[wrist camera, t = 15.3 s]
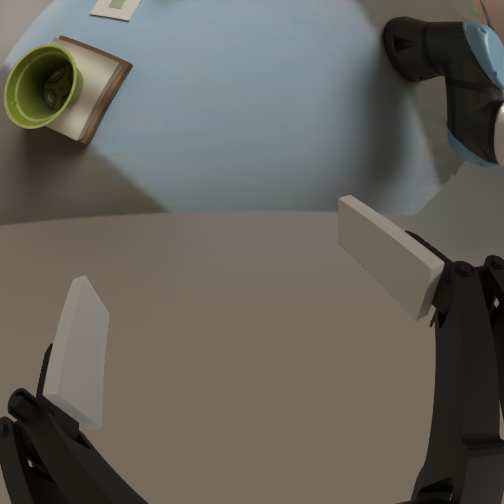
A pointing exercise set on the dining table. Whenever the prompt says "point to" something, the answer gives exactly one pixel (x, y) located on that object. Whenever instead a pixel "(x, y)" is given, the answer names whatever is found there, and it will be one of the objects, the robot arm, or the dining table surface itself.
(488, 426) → the robot arm
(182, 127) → the dining table surface
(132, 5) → the page
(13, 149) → the dining table surface
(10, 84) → the plant pot
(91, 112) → the stacked square slabs
